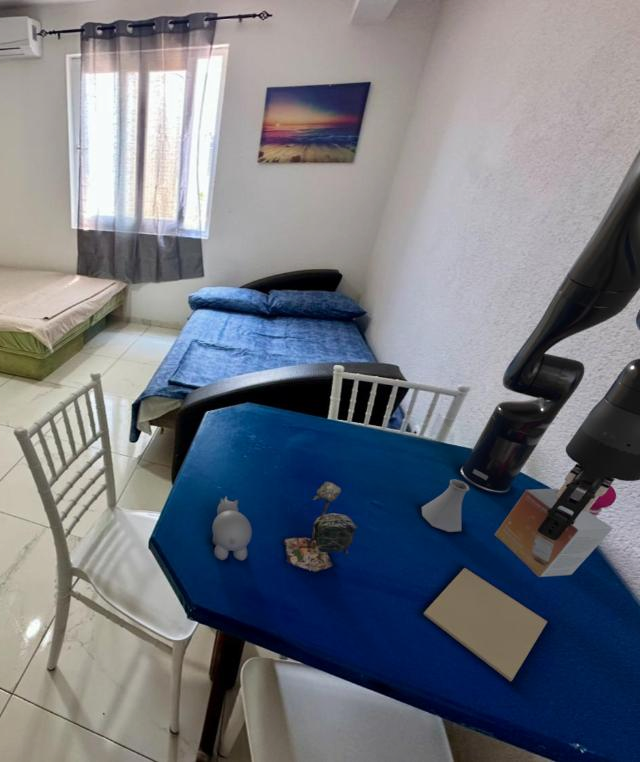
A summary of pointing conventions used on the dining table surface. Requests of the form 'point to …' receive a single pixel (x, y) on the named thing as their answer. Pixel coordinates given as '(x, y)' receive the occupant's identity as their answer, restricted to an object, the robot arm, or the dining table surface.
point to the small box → (542, 550)
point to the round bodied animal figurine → (230, 531)
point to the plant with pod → (322, 536)
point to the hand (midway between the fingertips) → (555, 523)
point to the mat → (487, 622)
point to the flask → (447, 507)
